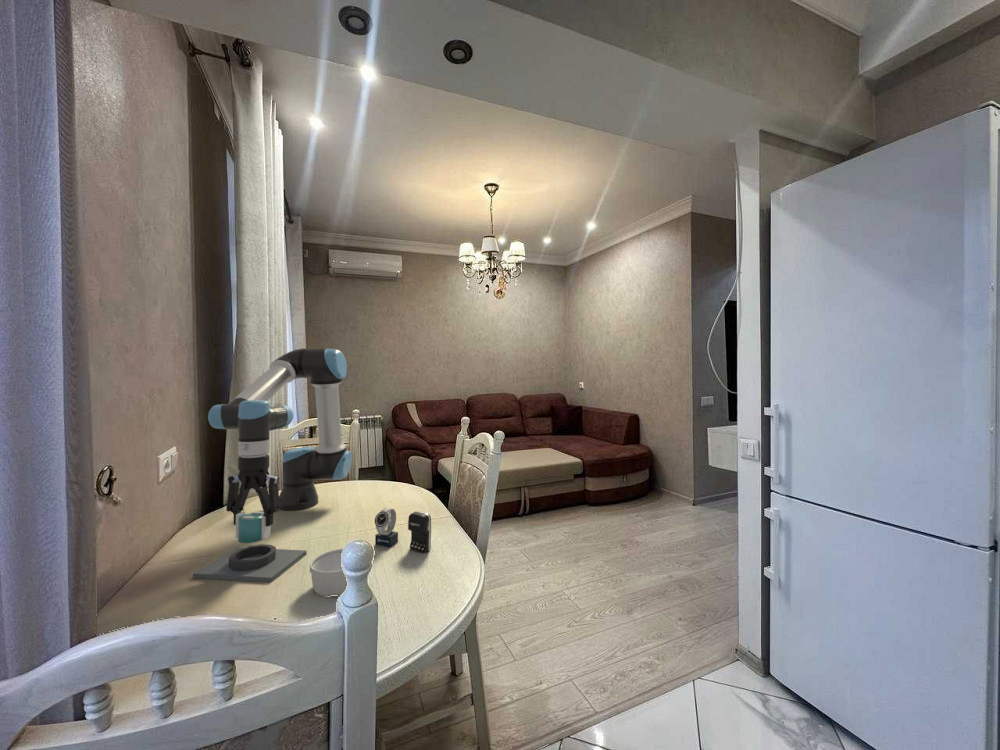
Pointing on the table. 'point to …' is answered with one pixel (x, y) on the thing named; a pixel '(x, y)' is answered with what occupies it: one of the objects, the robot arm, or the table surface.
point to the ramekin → (328, 574)
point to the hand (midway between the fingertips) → (253, 536)
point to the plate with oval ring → (251, 564)
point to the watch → (381, 522)
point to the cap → (250, 527)
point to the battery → (420, 531)
